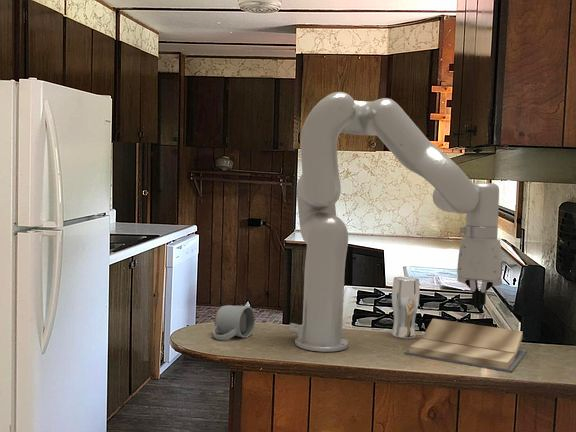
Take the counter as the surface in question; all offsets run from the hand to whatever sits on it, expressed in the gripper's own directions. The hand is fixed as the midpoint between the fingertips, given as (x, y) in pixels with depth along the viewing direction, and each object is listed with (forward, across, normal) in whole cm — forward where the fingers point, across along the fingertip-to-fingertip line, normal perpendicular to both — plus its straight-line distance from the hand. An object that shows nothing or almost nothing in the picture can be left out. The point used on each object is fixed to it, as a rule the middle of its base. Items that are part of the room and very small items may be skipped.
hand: (478, 307), depth 162 cm
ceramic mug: (+9, -54, -29) cm, 61 cm away
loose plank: (+8, 0, -3) cm, 8 cm away
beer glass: (+10, -18, -1) cm, 21 cm away
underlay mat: (+10, 0, -8) cm, 13 cm away
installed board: (+10, 0, -13) cm, 16 cm away
